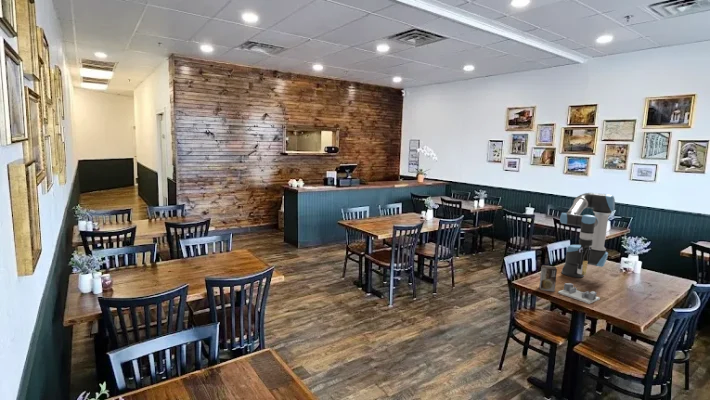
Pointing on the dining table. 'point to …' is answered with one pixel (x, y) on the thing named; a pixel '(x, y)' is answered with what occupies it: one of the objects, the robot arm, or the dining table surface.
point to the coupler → (584, 267)
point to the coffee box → (548, 278)
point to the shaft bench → (579, 294)
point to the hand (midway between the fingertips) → (581, 272)
